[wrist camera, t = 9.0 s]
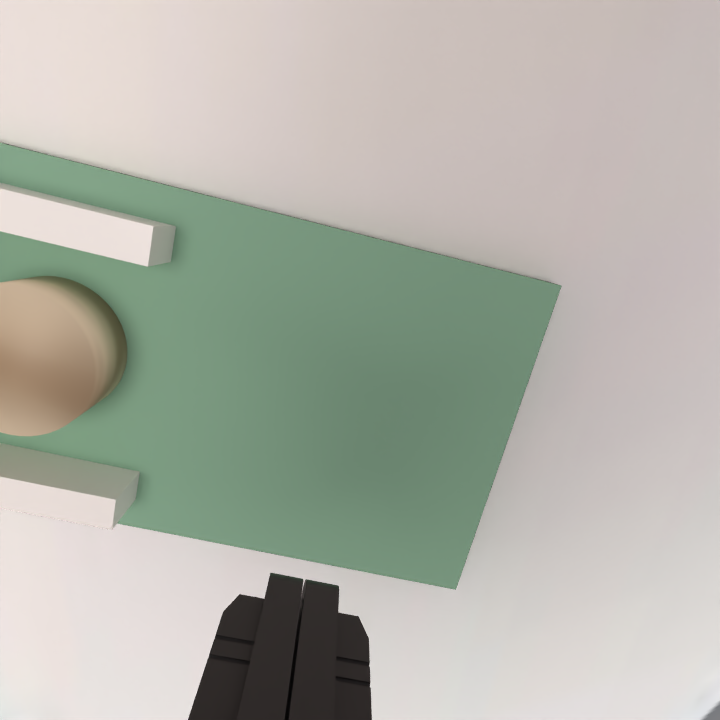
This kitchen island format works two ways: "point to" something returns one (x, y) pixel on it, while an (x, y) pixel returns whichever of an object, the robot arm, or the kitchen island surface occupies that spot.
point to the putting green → (293, 377)
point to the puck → (55, 353)
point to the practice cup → (50, 471)
